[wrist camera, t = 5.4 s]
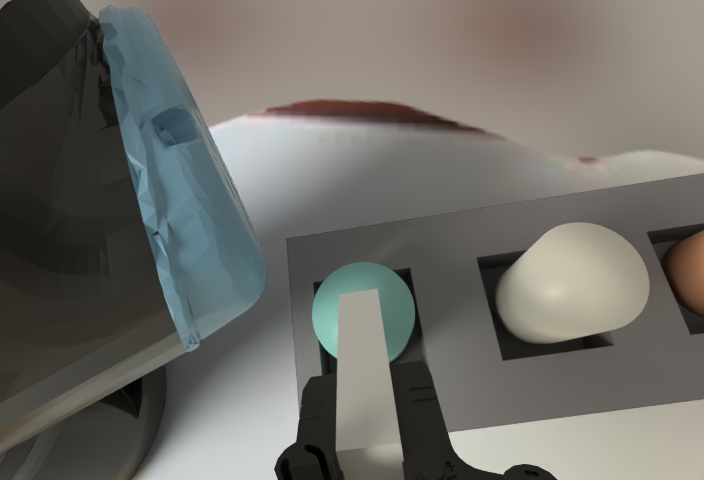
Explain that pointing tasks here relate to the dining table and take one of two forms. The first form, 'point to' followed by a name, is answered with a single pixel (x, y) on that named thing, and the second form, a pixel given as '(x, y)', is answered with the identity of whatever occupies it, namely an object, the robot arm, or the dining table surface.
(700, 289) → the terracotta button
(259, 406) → the dining table surface
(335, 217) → the dining table surface
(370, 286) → the teal button
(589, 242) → the cream button
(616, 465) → the dining table surface
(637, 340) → the button console
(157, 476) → the dining table surface
